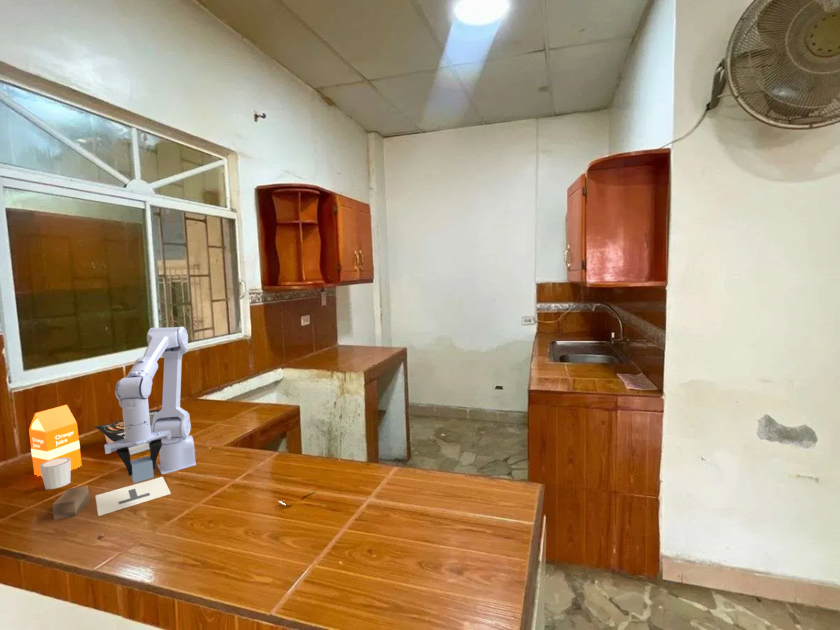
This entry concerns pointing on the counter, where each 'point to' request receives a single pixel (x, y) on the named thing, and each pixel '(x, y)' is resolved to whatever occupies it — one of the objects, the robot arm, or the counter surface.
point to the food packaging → (118, 433)
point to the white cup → (56, 472)
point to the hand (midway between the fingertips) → (141, 471)
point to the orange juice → (54, 437)
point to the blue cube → (142, 469)
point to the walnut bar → (70, 502)
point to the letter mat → (131, 495)
